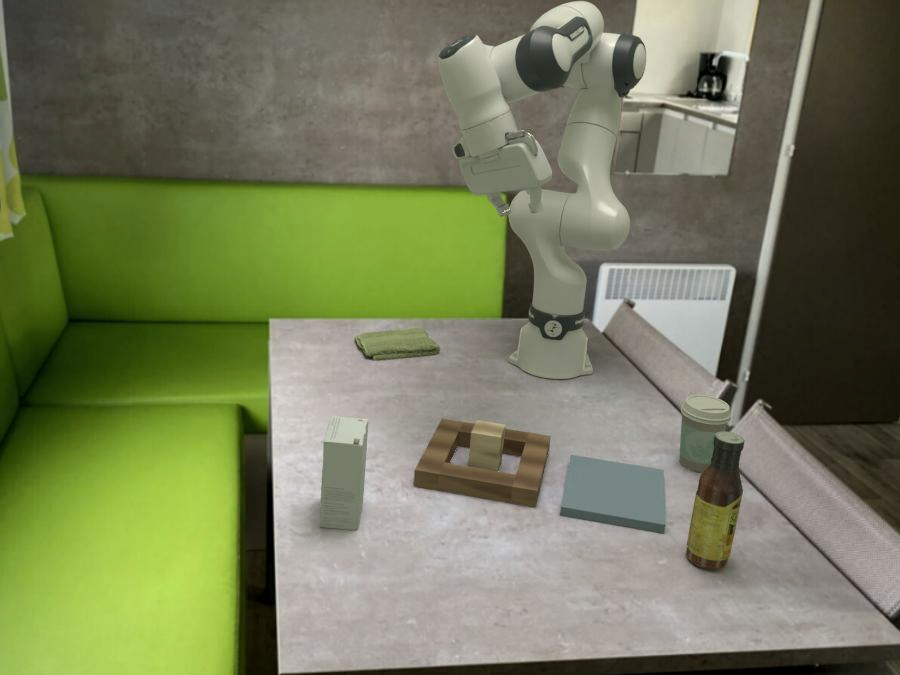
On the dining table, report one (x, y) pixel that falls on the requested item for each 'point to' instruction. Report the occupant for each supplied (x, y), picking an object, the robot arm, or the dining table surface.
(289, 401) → the dining table surface
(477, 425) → the maple peg
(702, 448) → the coffee cup
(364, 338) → the washcloth
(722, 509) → the sauce bottle
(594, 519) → the slate pad
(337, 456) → the skincare box
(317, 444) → the dining table surface
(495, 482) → the pocket block
